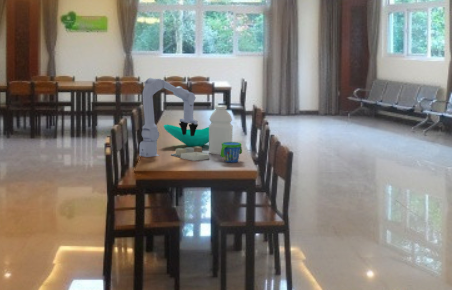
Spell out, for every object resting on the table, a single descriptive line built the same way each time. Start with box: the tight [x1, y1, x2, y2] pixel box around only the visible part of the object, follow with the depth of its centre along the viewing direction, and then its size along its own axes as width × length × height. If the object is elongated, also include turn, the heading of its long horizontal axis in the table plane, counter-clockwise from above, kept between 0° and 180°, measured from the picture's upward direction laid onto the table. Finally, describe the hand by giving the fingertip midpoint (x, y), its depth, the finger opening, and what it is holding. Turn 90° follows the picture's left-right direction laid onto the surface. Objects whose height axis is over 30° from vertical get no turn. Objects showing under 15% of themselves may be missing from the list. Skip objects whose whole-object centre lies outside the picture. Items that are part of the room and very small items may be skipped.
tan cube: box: [191, 146, 203, 153], centre depth 378 cm, size 4×4×4 cm
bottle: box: [208, 104, 234, 155], centre depth 382 cm, size 14×14×28 cm
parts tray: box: [170, 151, 208, 158], centre depth 374 cm, size 18×10×1 cm, turn 132°
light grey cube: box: [183, 146, 194, 153], centre depth 374 cm, size 4×4×4 cm
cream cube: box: [175, 147, 186, 156], centre depth 370 cm, size 4×4×4 cm
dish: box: [180, 152, 210, 162], centre depth 362 cm, size 11×11×3 cm
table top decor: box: [163, 124, 209, 148], centre depth 410 cm, size 40×28×13 cm
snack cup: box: [220, 141, 243, 164], centre depth 356 cm, size 16×10×10 cm
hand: (188, 135), depth 387 cm, fingers open, 7 cm apart
